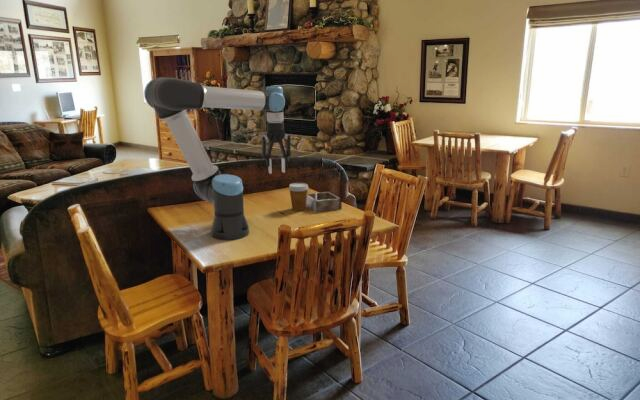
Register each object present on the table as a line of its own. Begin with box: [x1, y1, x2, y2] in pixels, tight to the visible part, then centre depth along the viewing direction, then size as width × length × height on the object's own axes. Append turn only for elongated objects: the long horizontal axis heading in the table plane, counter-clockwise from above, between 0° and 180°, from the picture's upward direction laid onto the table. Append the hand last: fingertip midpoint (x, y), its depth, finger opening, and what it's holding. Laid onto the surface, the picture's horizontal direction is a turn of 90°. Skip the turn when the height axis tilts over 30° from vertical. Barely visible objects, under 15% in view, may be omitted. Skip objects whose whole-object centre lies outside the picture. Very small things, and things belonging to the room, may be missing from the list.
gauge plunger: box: [306, 191, 318, 212], centre depth 218 cm, size 6×11×9 cm, turn 22°
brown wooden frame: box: [307, 191, 343, 213], centre depth 220 cm, size 12×16×5 cm
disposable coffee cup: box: [288, 182, 309, 212], centre depth 215 cm, size 10×10×12 cm
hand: (276, 172), depth 208 cm, fingers open, 6 cm apart
